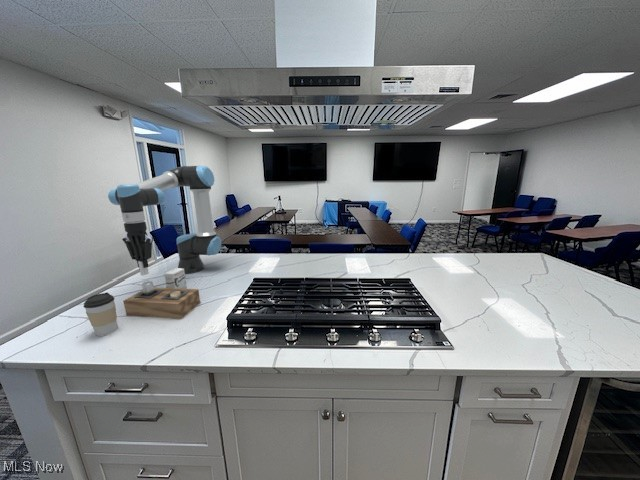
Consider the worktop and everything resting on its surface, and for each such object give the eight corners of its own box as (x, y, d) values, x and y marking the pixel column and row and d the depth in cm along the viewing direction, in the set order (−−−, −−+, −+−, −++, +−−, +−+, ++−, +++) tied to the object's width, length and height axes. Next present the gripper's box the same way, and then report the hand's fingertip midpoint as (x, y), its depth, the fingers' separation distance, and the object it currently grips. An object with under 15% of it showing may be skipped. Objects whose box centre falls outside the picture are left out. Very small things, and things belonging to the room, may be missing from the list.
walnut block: (151, 300, 123) (148, 286, 121) (200, 302, 120) (198, 288, 118) (126, 315, 109) (122, 300, 107) (181, 318, 106) (178, 302, 104)
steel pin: (149, 295, 116) (146, 281, 114) (157, 295, 116) (154, 281, 114) (142, 299, 112) (139, 284, 110) (150, 299, 112) (147, 285, 110)
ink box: (175, 295, 127) (172, 274, 124) (167, 295, 128) (163, 273, 125) (187, 288, 135) (184, 268, 132) (179, 287, 136) (176, 267, 133)
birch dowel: (176, 304, 115) (174, 290, 114) (184, 305, 115) (182, 291, 113) (170, 309, 112) (168, 294, 110) (178, 309, 111) (176, 295, 109)
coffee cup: (97, 340, 93) (87, 304, 89) (87, 333, 97) (77, 298, 93) (125, 327, 100) (117, 293, 96) (114, 321, 104) (106, 289, 101)
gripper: (112, 223, 102) (124, 277, 108) (141, 223, 101) (151, 278, 106) (128, 220, 110) (138, 270, 115) (155, 220, 108) (164, 271, 114)
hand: (144, 274), depth 111 cm, fingers closed
